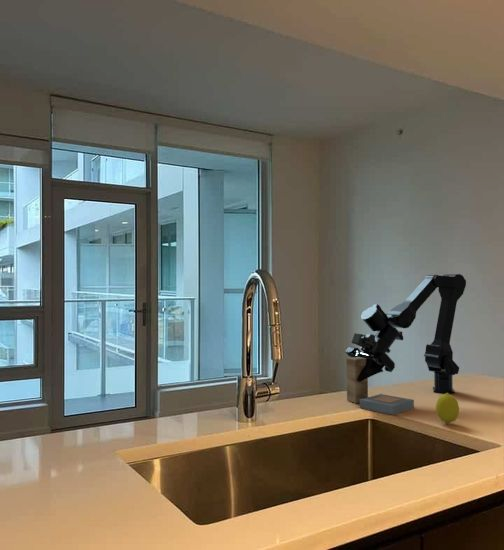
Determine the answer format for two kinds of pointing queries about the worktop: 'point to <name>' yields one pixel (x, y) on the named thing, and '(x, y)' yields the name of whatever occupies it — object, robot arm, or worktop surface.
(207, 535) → the worktop surface
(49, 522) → the worktop surface
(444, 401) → the lemon
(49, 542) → the worktop surface
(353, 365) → the pillar
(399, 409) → the plate
